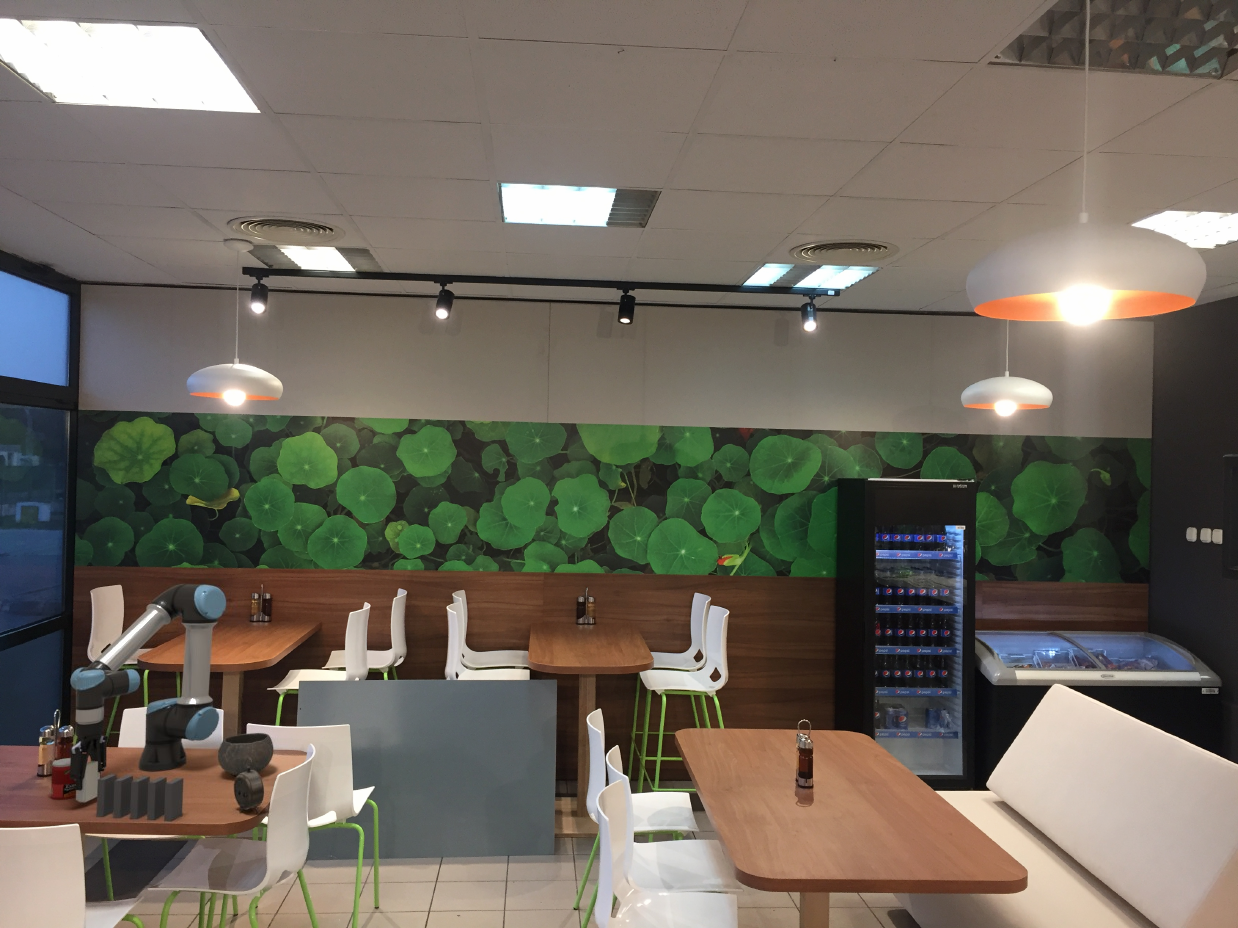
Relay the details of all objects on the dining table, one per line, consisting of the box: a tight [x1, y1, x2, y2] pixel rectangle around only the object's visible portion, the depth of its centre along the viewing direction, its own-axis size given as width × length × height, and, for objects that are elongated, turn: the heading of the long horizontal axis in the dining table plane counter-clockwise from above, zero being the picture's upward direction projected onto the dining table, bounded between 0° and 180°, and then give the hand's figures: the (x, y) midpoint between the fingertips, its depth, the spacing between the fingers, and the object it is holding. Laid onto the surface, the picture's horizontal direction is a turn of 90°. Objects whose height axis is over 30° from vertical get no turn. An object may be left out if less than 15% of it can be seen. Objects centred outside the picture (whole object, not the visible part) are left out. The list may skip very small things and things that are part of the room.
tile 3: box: [112, 774, 134, 819], centre depth 262 cm, size 2×5×11 cm, turn 172°
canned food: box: [50, 757, 76, 801], centre depth 278 cm, size 8×8×11 cm
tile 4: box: [129, 775, 151, 820], centre depth 261 cm, size 2×5×11 cm, turn 172°
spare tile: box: [77, 760, 98, 803], centre depth 271 cm, size 2×5×11 cm, turn 172°
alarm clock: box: [233, 758, 265, 815], centre depth 266 cm, size 11×5×16 cm, turn 50°
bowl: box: [217, 732, 275, 777], centre depth 303 cm, size 18×18×13 cm
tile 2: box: [96, 774, 118, 818], centre depth 263 cm, size 2×5×11 cm, turn 172°
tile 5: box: [146, 776, 168, 821], centre depth 260 cm, size 2×5×11 cm, turn 172°
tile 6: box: [163, 777, 184, 822], centre depth 260 cm, size 2×5×11 cm, turn 172°
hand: (87, 796), depth 270 cm, fingers closed on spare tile, 5 cm apart
